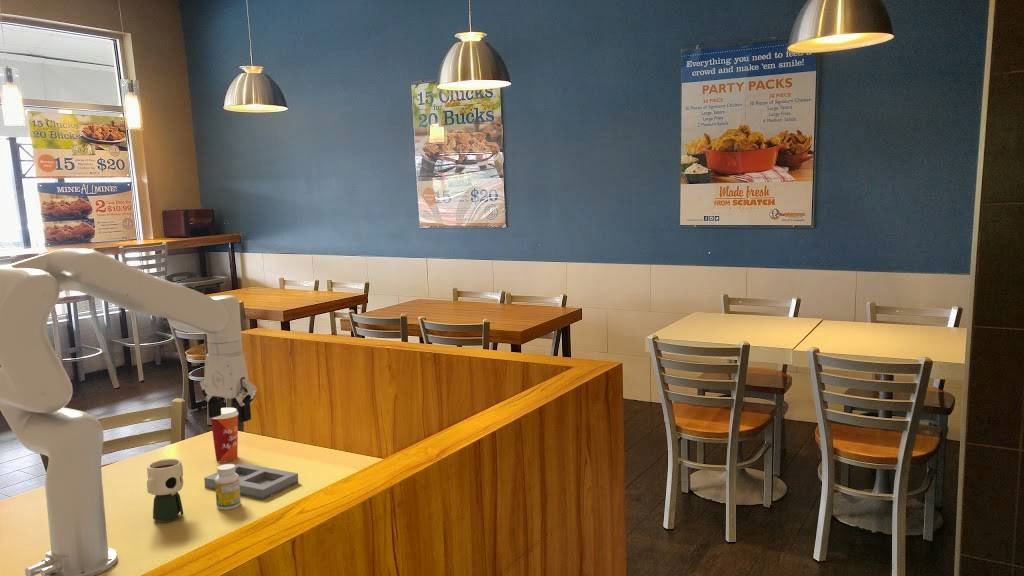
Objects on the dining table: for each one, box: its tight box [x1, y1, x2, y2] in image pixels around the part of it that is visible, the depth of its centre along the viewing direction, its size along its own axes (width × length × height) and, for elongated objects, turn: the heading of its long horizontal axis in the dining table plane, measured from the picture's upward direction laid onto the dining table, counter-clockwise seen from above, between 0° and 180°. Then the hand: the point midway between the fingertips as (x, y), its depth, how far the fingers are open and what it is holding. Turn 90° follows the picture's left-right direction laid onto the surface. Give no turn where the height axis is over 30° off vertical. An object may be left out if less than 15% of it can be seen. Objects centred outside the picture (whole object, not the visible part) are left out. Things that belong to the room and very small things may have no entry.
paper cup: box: [210, 407, 239, 463], centre depth 205 cm, size 8×8×14 cm
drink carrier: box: [203, 462, 299, 500], centre depth 185 cm, size 12×20×2 cm, turn 64°
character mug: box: [146, 458, 184, 523], centre depth 165 cm, size 11×7×13 cm, turn 166°
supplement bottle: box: [214, 463, 242, 511], centre depth 172 cm, size 5×5×10 cm
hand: (229, 418), depth 173 cm, fingers open, 9 cm apart
